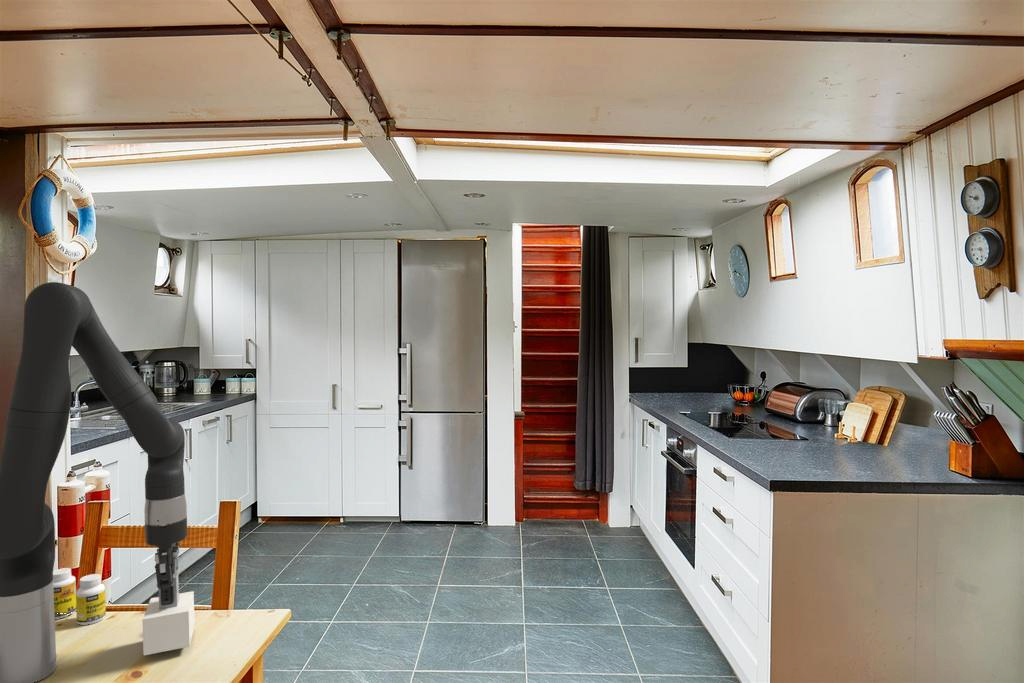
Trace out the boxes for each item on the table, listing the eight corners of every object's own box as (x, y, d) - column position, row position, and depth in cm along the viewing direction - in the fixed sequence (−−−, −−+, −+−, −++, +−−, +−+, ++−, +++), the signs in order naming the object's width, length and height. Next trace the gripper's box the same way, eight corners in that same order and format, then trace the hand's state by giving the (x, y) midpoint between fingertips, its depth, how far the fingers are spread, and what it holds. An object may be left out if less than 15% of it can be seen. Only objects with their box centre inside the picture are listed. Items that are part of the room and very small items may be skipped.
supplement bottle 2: (85, 628, 132) (84, 584, 132) (71, 623, 134) (69, 579, 134) (111, 616, 137) (109, 574, 136) (97, 612, 139) (95, 570, 139)
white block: (143, 655, 117) (141, 589, 117) (152, 631, 127) (150, 570, 126) (189, 646, 120) (187, 581, 120) (194, 623, 130) (192, 563, 129)
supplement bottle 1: (45, 623, 134) (43, 578, 134) (47, 613, 139) (46, 570, 139) (76, 616, 137) (74, 572, 137) (77, 606, 142) (75, 564, 142)
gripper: (150, 510, 128) (153, 590, 128) (138, 530, 115) (141, 619, 115) (190, 505, 131) (192, 583, 131) (182, 525, 118) (185, 611, 118)
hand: (168, 599), depth 123 cm, fingers closed on white block, 3 cm apart
